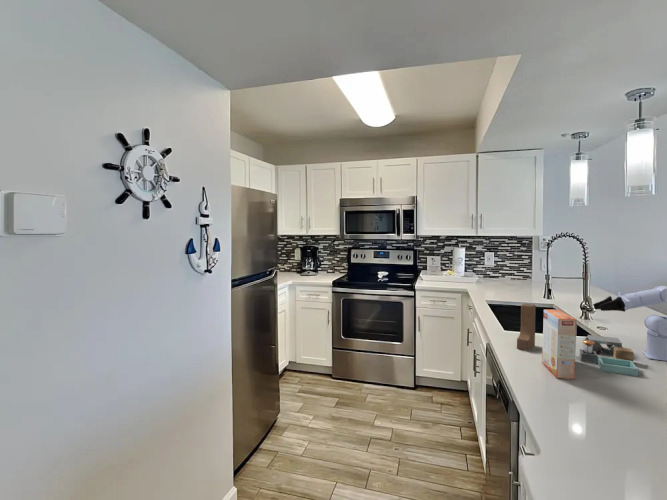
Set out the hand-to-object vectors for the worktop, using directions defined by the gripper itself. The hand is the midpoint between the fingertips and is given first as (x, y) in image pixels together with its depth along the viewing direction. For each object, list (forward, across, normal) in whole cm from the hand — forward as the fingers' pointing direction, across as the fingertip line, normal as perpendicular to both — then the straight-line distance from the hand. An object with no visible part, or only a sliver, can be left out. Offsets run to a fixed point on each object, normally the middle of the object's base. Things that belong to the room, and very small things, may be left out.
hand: (597, 307), depth 140 cm
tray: (+4, +14, +20) cm, 25 cm away
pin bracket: (+11, +8, +18) cm, 22 cm away
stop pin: (+11, +8, +18) cm, 22 cm away
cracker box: (+24, +23, +16) cm, 37 cm away
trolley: (+2, -5, +18) cm, 19 cm away
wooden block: (+30, 0, +11) cm, 32 cm away
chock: (0, +6, +21) cm, 21 cm away
